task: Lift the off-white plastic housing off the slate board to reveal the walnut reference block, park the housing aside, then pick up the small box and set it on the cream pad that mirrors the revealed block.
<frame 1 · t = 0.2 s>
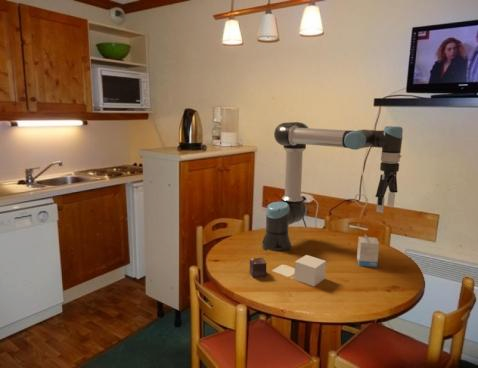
hand: (385, 209, 155), 28 cm above the table, fingers open, 13 cm apart
ink box: (366, 263, 165), on the table
box: (257, 277, 150), on the table
reference block: (309, 273, 145), on the layout board, point 4 cm above the table
housing: (310, 270, 145), on the layout board, point 5 cm above the table
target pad: (285, 270, 153), resting on layout board
layout board: (298, 276, 150), on the table
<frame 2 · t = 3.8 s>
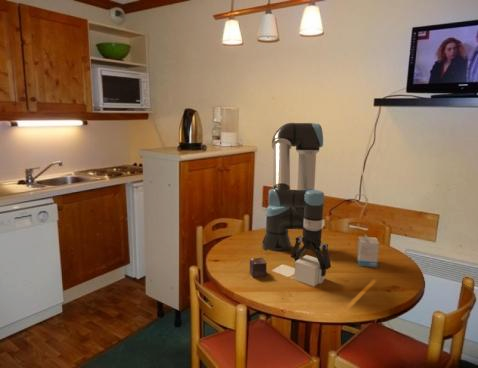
hand: (309, 278, 146), 1 cm above the table, fingers open, 10 cm apart
nothing on the table moved.
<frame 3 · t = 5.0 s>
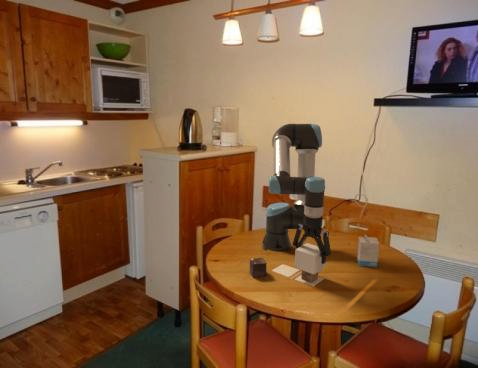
hand: (310, 266, 145), 7 cm above the table, fingers closed on housing, 9 cm apart
housing: (310, 258, 144), point 10 cm above the table, touching gripper
everything else where it was.
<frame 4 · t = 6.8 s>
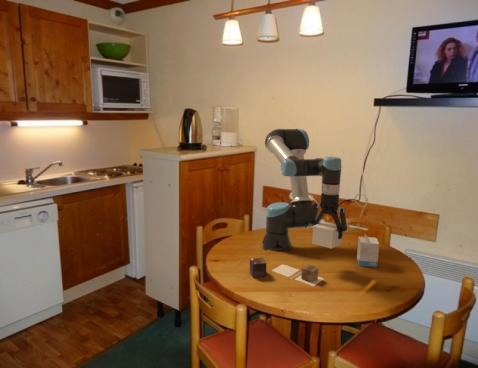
hand: (326, 242, 153), 13 cm above the table, fingers closed on housing, 9 cm apart
housing: (327, 234, 152), point 17 cm above the table, touching gripper
everything else where it was.
when the fingers open (2 cm above the table, at t = 8.9 s): housing drops 1 cm, on the table.
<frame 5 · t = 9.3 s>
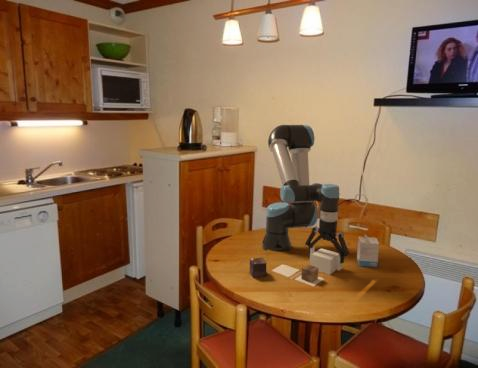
hand: (325, 265, 156), 3 cm above the table, fingers open, 13 cm apart
housing: (325, 262, 155), on the table
everything else where it was.
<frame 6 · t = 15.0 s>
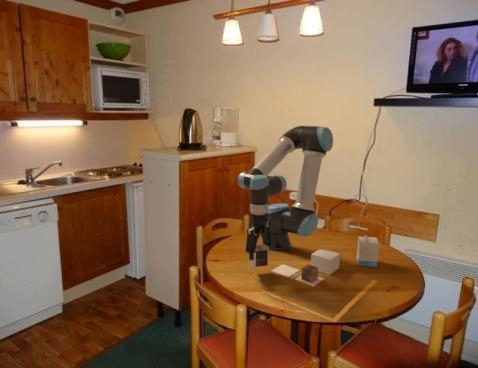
hand: (259, 262, 149), 6 cm above the table, fingers closed on box, 8 cm apart
box: (259, 264, 149), point 6 cm above the table, touching gripper
everything else where it was.
when the fingers open (2 cm above the table, at t = 18.6 s): box stays where it is, resting on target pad.
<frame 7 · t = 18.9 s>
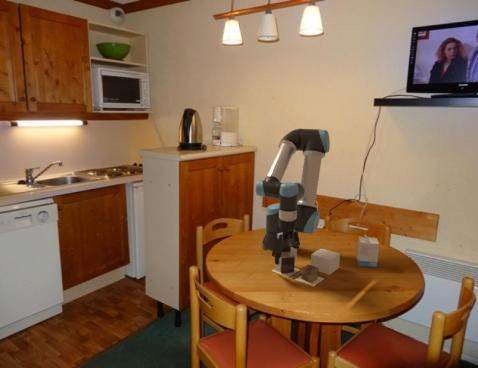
hand: (285, 266, 153), 3 cm above the table, fingers open, 11 cm apart
box: (285, 270, 153), point 1 cm above the table, touching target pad
everything else where it was.
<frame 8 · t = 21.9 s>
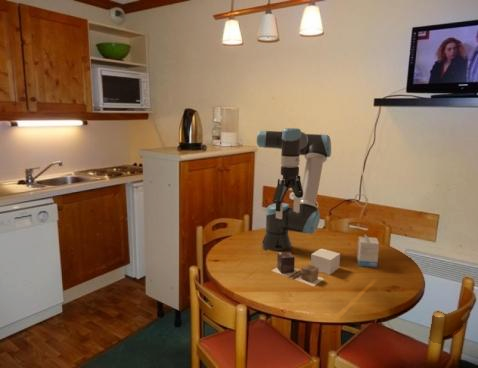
hand: (287, 215, 148), 27 cm above the table, fingers open, 13 cm apart
nothing on the table moved.
at the end: box 0.0 cm from the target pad (horizontally); box tilted 0°; housing moved 13.9 cm from its start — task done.
